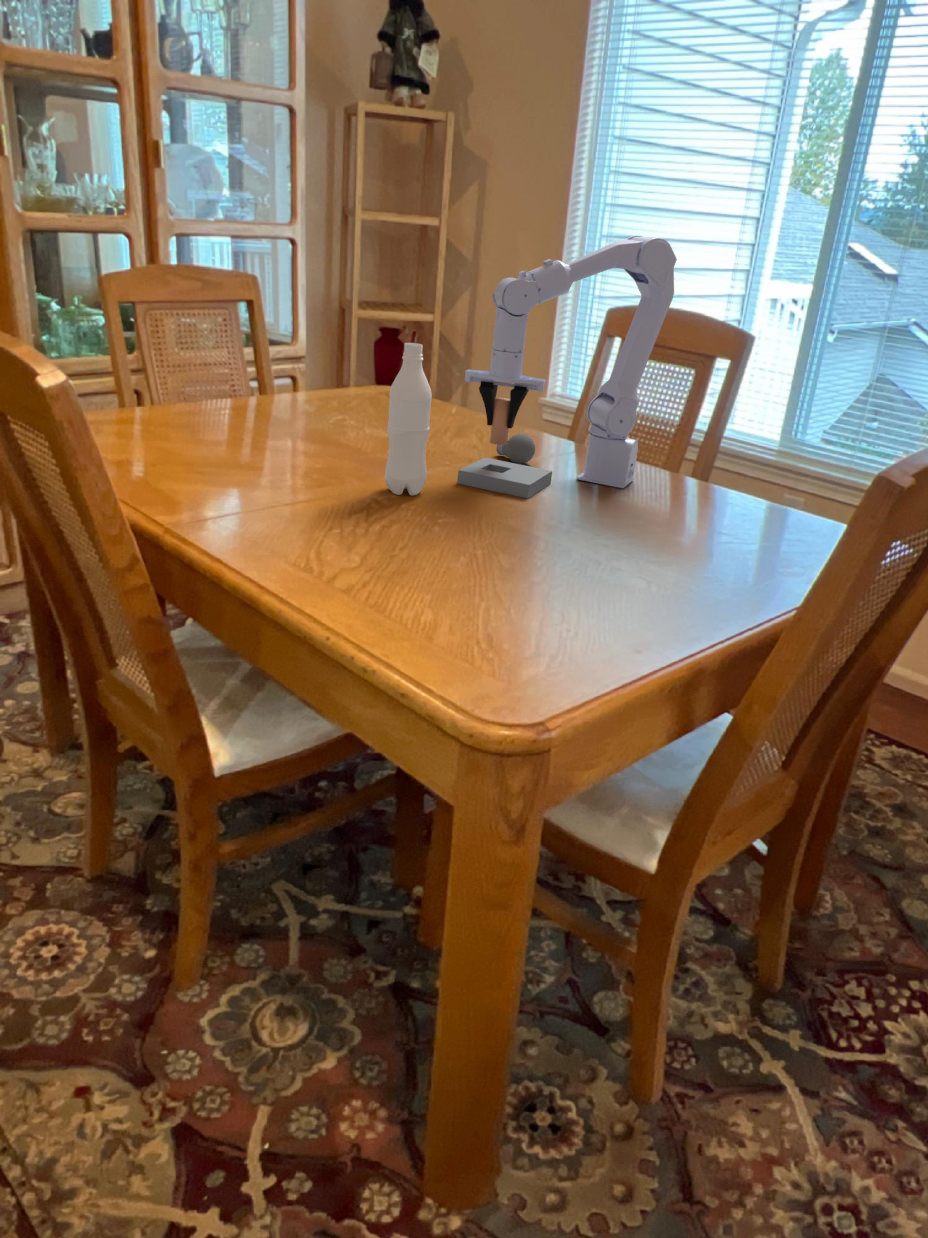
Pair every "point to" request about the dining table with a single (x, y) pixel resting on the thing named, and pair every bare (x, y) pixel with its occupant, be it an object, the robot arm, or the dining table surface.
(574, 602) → the dining table surface
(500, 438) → the peg
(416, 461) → the water bottle
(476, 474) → the socket board
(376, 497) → the dining table surface
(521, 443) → the light bulb
